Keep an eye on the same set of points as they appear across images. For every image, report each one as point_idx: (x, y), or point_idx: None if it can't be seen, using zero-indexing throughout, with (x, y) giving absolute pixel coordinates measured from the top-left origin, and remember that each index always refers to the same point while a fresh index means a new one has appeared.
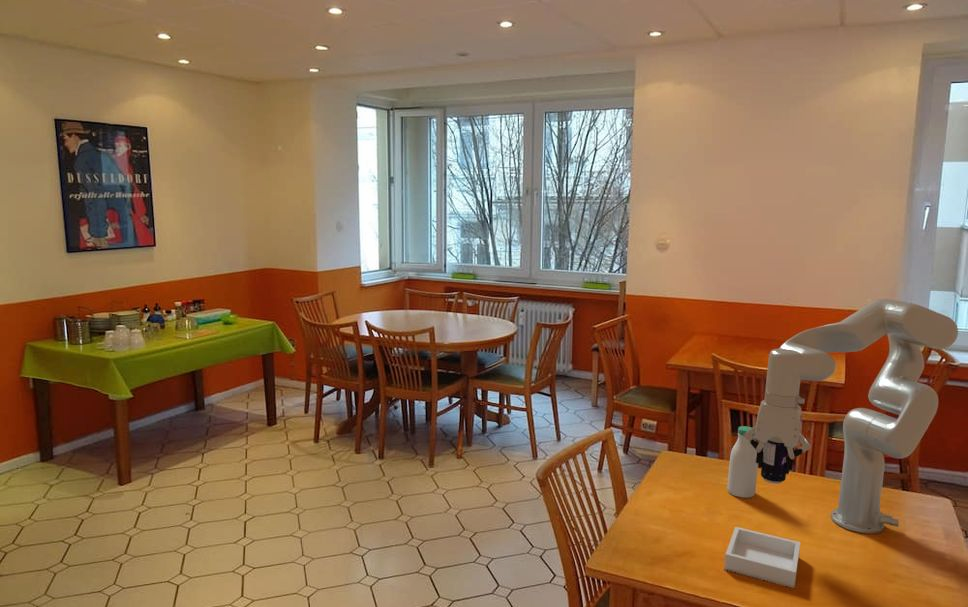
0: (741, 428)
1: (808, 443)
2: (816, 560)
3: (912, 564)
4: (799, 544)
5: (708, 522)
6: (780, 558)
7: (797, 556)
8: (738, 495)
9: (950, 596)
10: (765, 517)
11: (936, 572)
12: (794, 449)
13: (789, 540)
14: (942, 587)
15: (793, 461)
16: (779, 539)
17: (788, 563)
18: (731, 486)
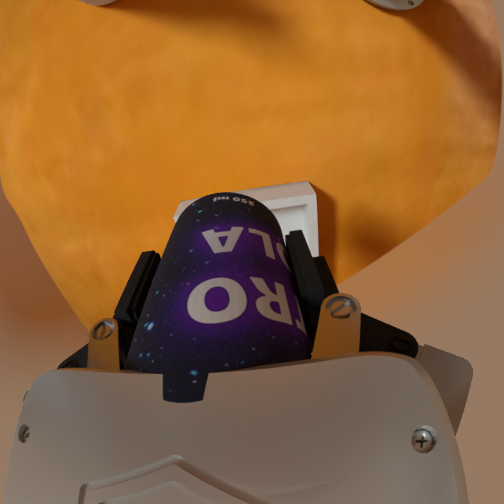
0: None
1: (461, 399)
2: (338, 170)
3: (465, 99)
4: (315, 204)
5: (109, 163)
6: (279, 218)
7: (317, 253)
8: (110, 2)
9: (487, 172)
10: (195, 41)
11: (485, 111)
12: (358, 340)
13: (293, 201)
14: (485, 152)
15: (334, 282)
16: (272, 208)
17: (296, 226)
18: (85, 2)
